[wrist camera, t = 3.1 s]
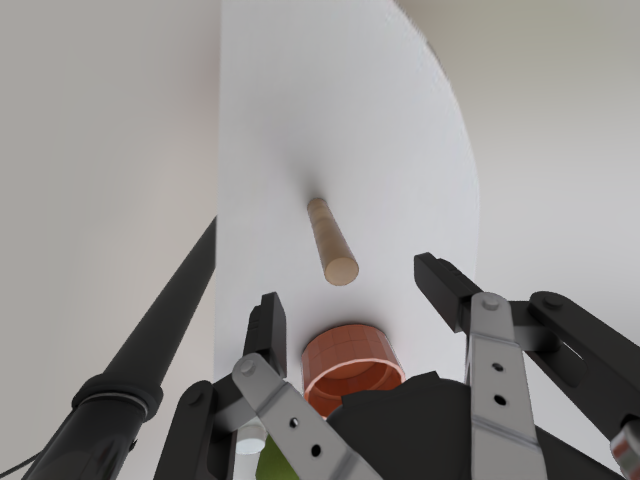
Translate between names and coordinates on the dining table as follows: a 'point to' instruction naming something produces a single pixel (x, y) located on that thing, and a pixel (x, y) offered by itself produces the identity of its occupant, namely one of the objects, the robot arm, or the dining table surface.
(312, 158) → the dining table surface
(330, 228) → the stirring stick
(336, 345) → the bowl
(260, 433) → the pill bottle
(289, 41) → the dining table surface
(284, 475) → the apple
